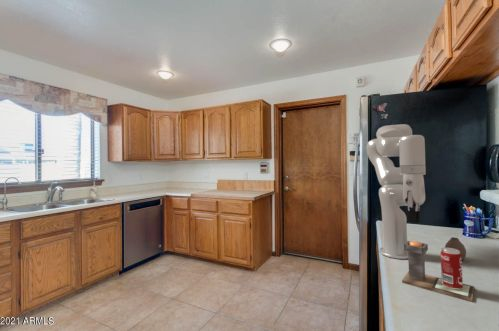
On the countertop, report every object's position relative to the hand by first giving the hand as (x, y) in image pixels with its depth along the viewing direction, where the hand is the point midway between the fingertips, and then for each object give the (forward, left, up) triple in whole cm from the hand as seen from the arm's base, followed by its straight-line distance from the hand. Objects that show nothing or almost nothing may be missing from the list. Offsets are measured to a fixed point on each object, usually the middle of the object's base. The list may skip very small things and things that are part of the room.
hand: (414, 221), depth 85 cm
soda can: (+5, +8, -20) cm, 22 cm away
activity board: (+3, +5, -21) cm, 21 cm away
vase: (-23, +22, -21) cm, 38 cm away
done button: (+1, 0, -9) cm, 9 cm away
